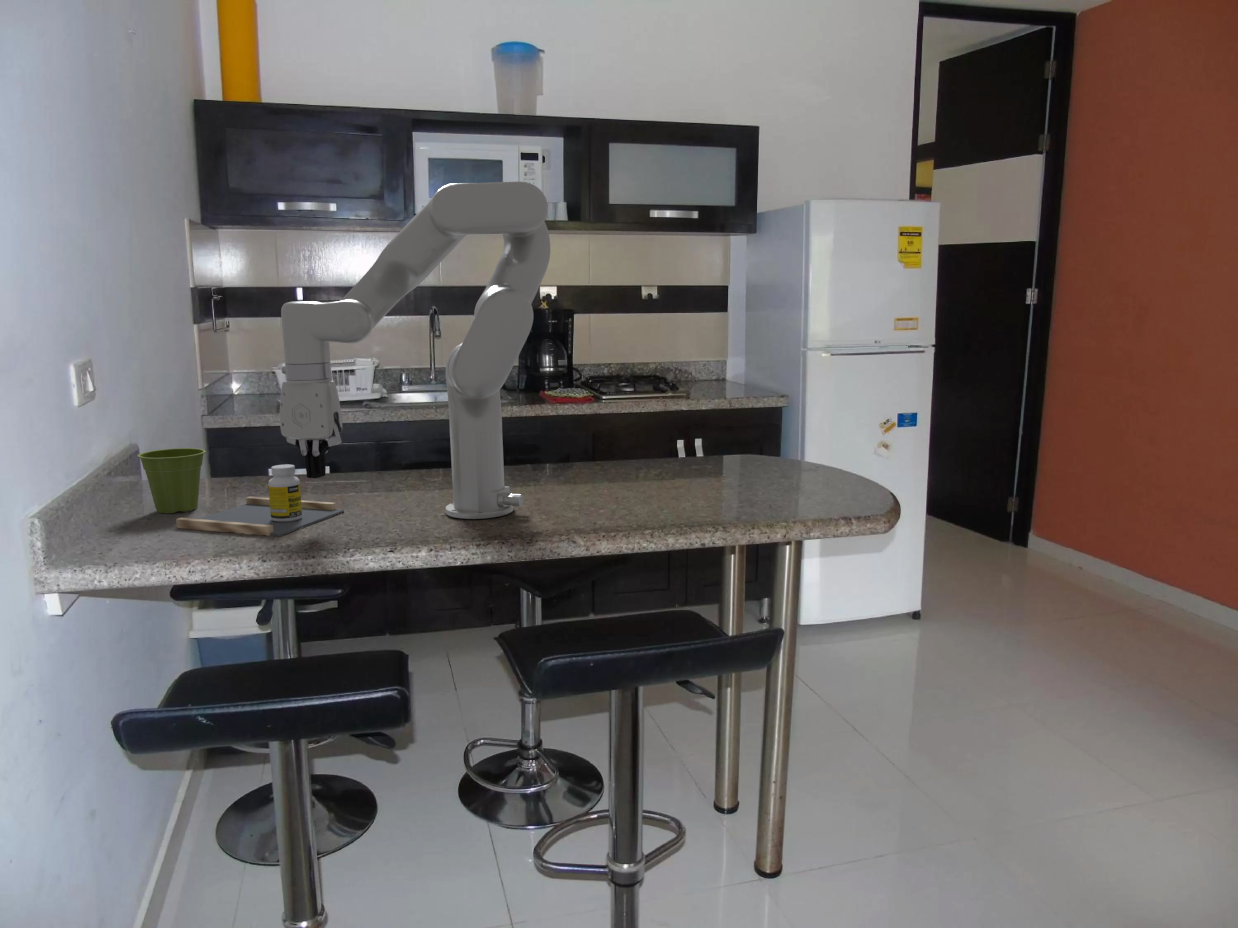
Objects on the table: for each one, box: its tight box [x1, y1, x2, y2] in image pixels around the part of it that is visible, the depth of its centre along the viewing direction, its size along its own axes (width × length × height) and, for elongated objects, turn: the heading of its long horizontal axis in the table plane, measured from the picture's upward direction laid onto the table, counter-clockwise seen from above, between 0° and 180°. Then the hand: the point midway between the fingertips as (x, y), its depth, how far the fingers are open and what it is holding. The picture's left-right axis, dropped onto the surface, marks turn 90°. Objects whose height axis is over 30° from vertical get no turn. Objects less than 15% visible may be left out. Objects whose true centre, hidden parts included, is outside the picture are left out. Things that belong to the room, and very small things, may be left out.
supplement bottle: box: [268, 463, 302, 522], centre depth 167 cm, size 5×5×10 cm
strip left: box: [175, 517, 273, 537], centre depth 161 cm, size 20×1×2 cm, turn 71°
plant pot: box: [136, 447, 207, 514], centre depth 177 cm, size 12×12×11 cm
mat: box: [199, 503, 345, 537], centre depth 169 cm, size 22×18×1 cm
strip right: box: [245, 496, 337, 510], centre depth 178 cm, size 20×1×2 cm, turn 71°
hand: (316, 476), depth 163 cm, fingers closed
